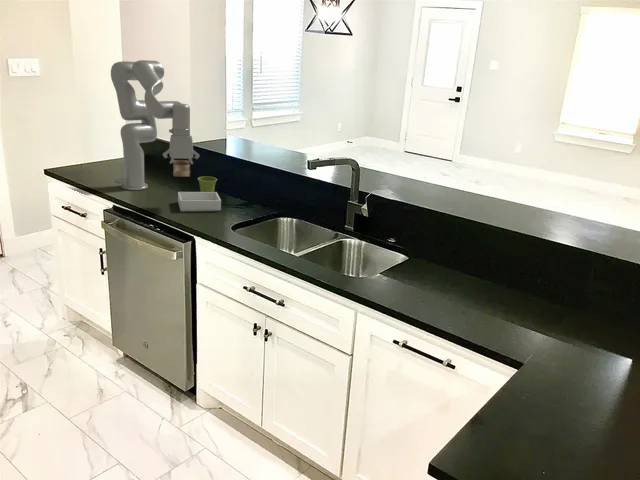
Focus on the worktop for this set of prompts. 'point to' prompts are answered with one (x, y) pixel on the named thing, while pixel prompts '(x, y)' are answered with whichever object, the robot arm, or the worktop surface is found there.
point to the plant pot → (207, 184)
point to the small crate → (181, 168)
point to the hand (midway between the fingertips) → (181, 171)
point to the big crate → (199, 201)
